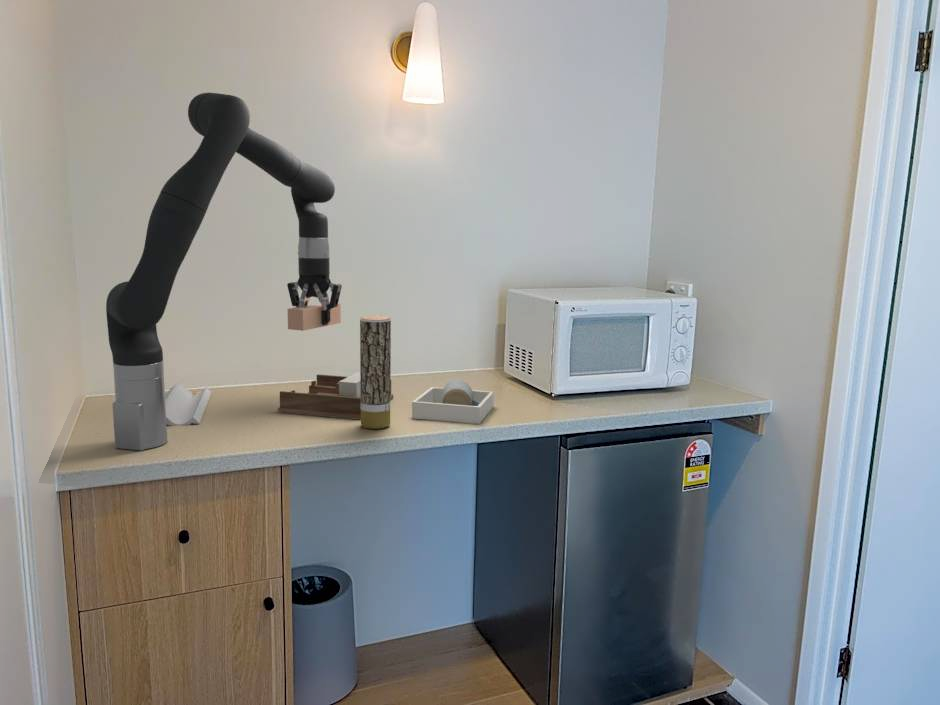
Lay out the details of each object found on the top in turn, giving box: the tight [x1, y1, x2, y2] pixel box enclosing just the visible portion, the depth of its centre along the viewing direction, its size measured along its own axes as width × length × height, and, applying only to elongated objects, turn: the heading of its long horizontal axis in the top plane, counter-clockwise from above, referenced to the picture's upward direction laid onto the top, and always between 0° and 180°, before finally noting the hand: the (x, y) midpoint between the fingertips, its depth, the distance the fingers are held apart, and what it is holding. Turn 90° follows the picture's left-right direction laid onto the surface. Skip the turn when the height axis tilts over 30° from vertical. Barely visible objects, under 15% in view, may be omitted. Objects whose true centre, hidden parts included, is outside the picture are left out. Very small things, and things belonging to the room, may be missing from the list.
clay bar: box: [287, 303, 342, 331], centre depth 181 cm, size 16×4×5 cm, turn 156°
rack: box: [277, 374, 394, 420], centre depth 183 cm, size 22×22×5 cm
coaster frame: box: [411, 386, 495, 425], centre depth 179 cm, size 17×17×4 cm
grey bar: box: [339, 370, 360, 398], centre depth 182 cm, size 16×4×5 cm, turn 167°
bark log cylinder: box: [359, 315, 392, 430], centre depth 164 cm, size 7×7×25 cm
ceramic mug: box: [442, 379, 480, 406], centre depth 178 cm, size 11×8×8 cm
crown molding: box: [165, 382, 212, 426], centre depth 177 cm, size 31×12×4 cm, turn 15°
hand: (315, 323), depth 181 cm, fingers closed on clay bar, 5 cm apart
